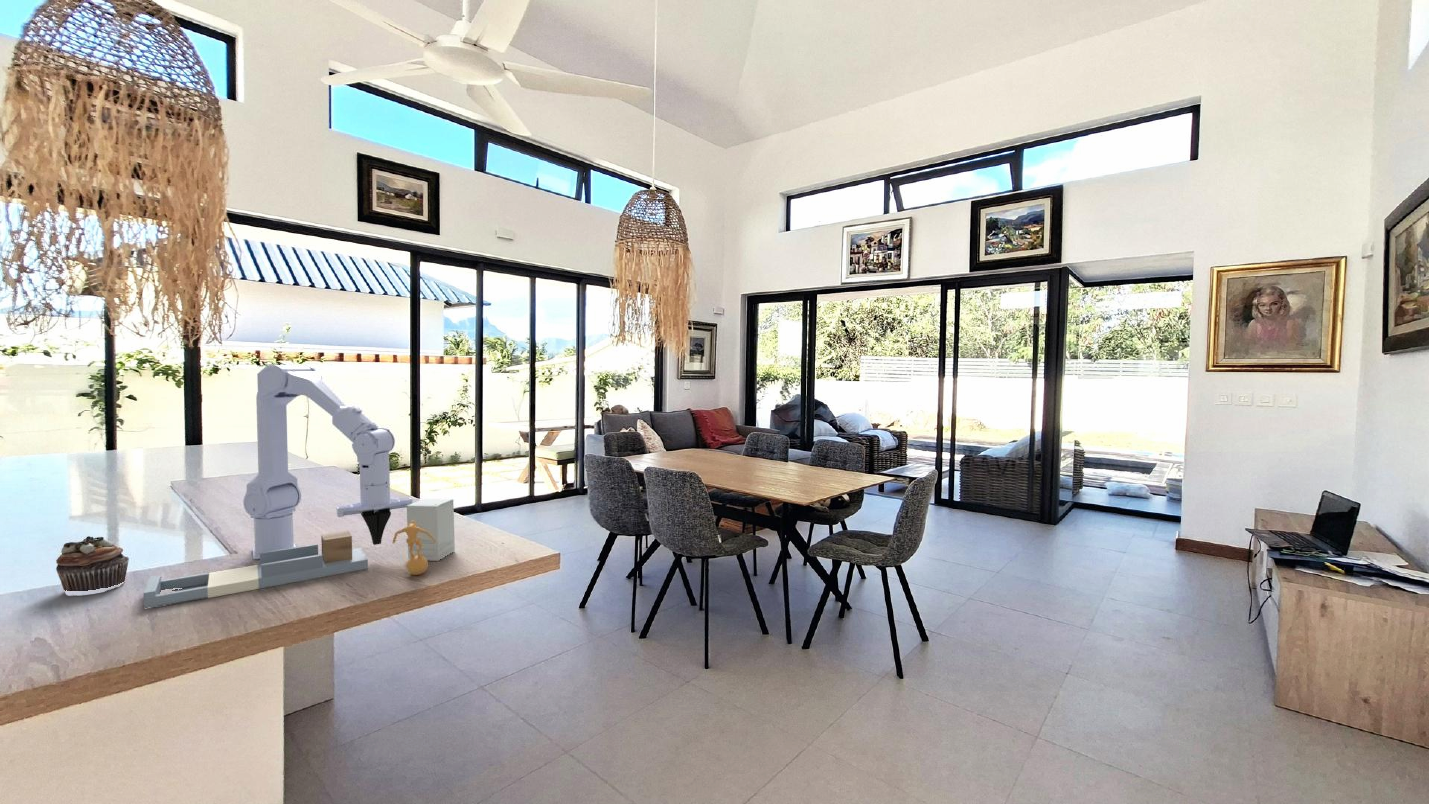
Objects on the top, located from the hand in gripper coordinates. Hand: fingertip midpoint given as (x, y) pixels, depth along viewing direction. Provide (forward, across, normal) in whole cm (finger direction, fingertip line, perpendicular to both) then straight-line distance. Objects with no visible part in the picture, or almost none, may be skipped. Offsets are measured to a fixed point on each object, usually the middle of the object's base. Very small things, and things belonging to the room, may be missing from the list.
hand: (376, 543), depth 130 cm
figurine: (+4, +4, -16) cm, 17 cm away
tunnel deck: (+4, -20, 0) cm, 20 cm away
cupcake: (+4, -46, +14) cm, 48 cm away
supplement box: (+4, +10, -4) cm, 12 cm away
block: (+2, -8, 0) cm, 8 cm away
